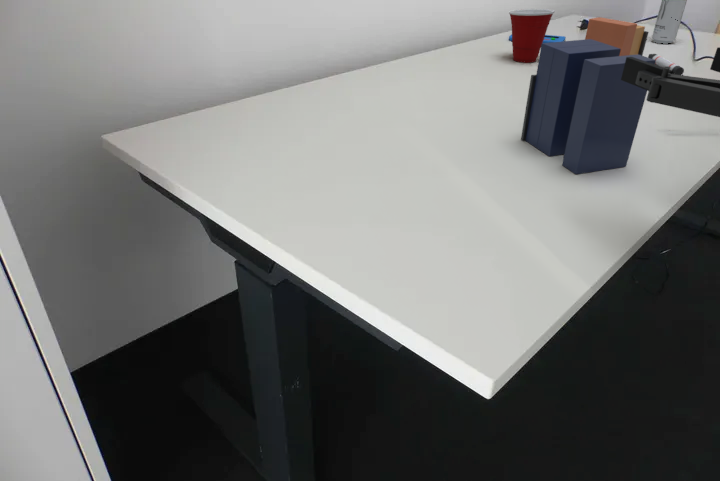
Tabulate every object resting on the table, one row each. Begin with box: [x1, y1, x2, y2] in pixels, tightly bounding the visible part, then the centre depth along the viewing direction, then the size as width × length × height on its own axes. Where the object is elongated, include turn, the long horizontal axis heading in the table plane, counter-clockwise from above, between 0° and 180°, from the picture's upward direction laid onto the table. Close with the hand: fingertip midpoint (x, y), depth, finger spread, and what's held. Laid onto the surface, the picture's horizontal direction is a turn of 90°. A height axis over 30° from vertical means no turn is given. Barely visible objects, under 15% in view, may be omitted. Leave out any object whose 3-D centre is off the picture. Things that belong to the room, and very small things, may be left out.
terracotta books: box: [584, 16, 650, 56], centre depth 117 cm, size 8×10×13 cm
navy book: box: [561, 54, 656, 175], centre depth 79 cm, size 4×9×16 cm, turn 107°
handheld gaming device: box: [508, 33, 567, 43], centre depth 155 cm, size 8×1×15 cm
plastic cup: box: [508, 8, 555, 64], centre depth 134 cm, size 11×11×12 cm
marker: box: [647, 53, 685, 75], centre depth 130 cm, size 15×2×2 cm, turn 1°
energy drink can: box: [651, 0, 688, 45], centre depth 148 cm, size 6×6×15 cm
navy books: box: [520, 39, 621, 157], centre depth 86 cm, size 8×10×16 cm
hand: (671, 63), depth 67 cm, fingers open, 13 cm apart
